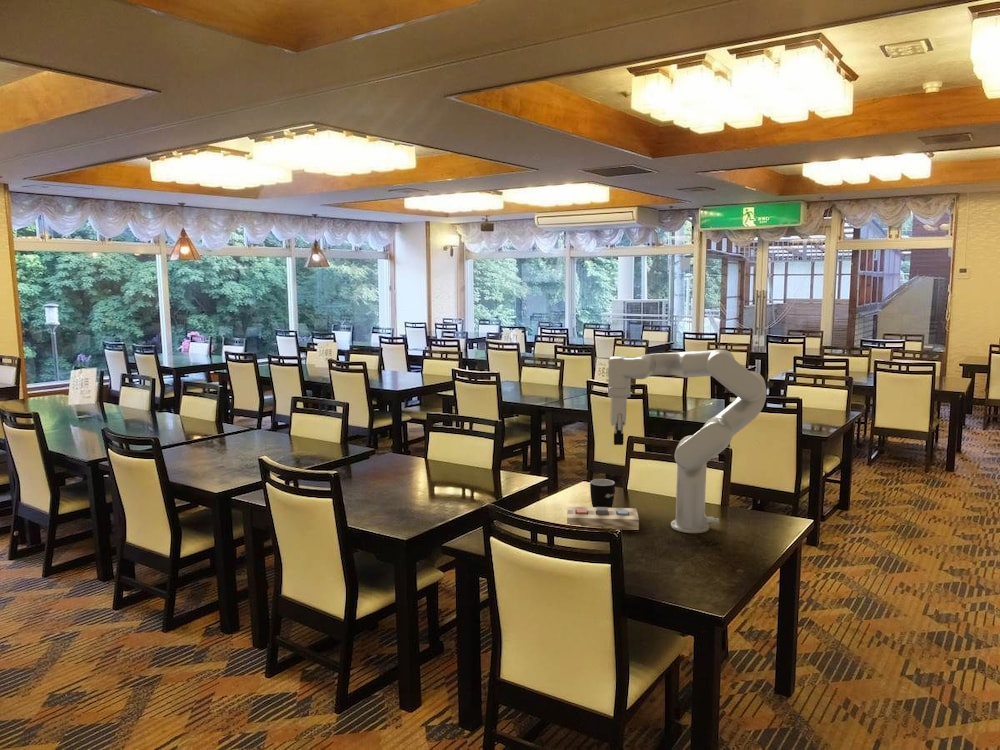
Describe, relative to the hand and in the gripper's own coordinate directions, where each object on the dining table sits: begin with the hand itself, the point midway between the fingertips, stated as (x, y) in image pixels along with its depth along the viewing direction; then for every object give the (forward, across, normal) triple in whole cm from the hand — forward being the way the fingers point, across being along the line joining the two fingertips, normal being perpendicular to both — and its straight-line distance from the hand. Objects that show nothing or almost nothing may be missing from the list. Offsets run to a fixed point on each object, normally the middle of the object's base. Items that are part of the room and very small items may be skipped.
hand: (618, 444), depth 250 cm
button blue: (+25, +5, +1) cm, 26 cm away
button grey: (+24, +5, -6) cm, 26 cm away
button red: (+25, +5, -13) cm, 29 cm away
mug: (+27, -13, -4) cm, 31 cm away
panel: (+27, +5, -6) cm, 28 cm away
